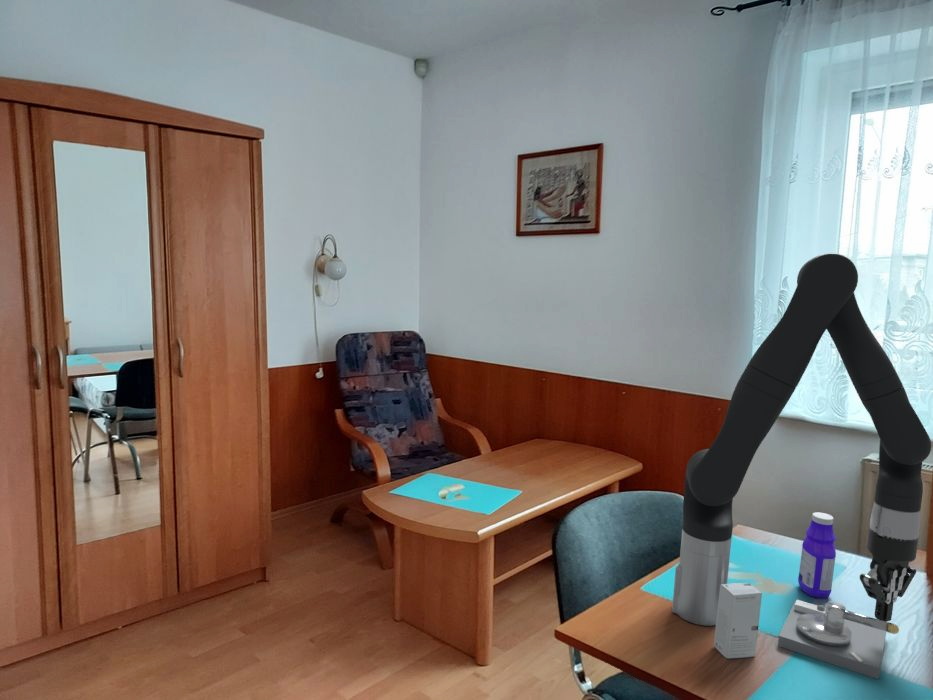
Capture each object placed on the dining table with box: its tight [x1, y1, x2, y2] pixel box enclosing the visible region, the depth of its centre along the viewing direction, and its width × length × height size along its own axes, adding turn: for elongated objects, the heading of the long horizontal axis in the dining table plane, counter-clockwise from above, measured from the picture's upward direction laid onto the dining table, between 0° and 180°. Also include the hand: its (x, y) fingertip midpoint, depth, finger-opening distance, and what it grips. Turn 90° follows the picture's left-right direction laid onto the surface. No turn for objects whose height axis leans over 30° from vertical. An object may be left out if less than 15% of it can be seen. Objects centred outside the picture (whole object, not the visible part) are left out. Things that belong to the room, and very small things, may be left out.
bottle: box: [797, 511, 837, 599], centre depth 145 cm, size 7×6×17 cm
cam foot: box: [797, 601, 900, 646], centre depth 123 cm, size 16×9×6 cm, turn 55°
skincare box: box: [713, 582, 763, 659], centre depth 121 cm, size 6×4×12 cm
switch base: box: [777, 599, 887, 680], centre depth 126 cm, size 16×16×4 cm
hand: (882, 619), depth 123 cm, fingers closed
